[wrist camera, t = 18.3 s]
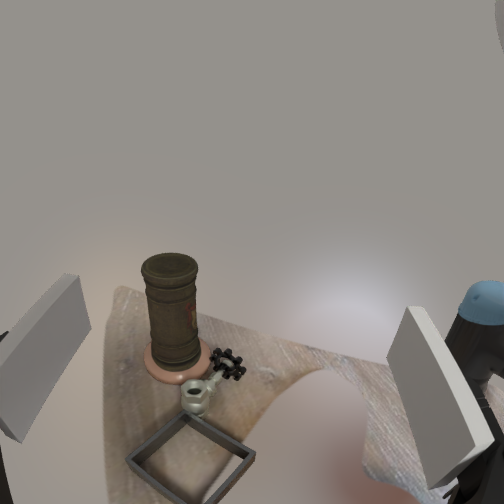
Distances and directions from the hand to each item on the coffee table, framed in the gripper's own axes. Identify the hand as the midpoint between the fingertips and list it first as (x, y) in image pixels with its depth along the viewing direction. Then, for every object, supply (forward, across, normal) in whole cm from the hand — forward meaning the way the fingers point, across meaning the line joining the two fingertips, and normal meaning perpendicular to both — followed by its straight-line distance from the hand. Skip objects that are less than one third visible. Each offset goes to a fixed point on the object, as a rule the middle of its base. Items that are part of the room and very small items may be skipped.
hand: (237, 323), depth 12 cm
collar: (+9, -6, -34) cm, 36 cm away
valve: (+22, -5, -34) cm, 41 cm away
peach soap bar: (+30, -12, -34) cm, 47 cm away
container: (+30, -12, -33) cm, 46 cm away
